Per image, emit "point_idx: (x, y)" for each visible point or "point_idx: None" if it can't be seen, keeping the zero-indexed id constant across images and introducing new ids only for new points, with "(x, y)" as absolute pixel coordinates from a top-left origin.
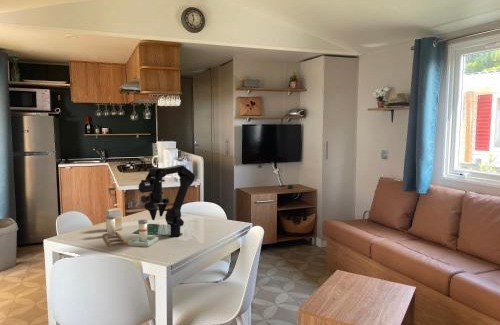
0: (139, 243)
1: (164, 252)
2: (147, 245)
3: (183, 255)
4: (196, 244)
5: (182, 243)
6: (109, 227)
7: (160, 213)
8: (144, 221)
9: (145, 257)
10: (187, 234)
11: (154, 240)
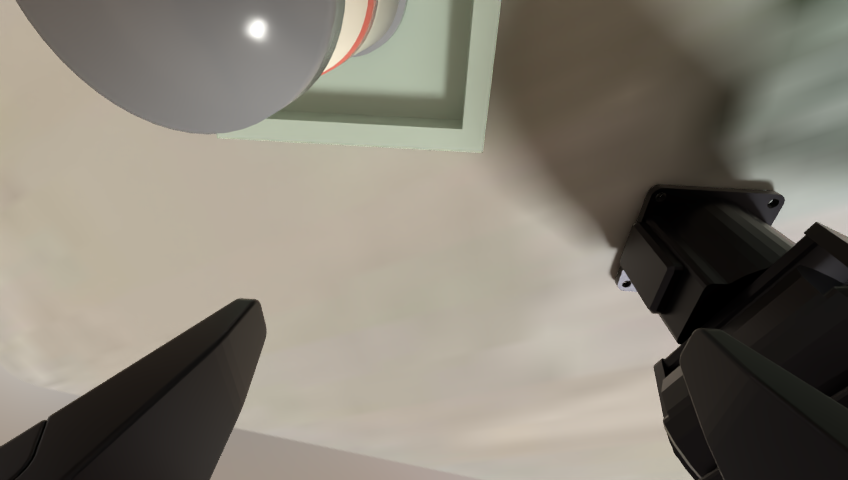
0: None
1: (183, 304)
2: None
3: None
4: (424, 422)
5: (428, 352)
6: None
7: (744, 412)
8: (106, 95)
9: (5, 221)
10: None
11: (379, 142)
